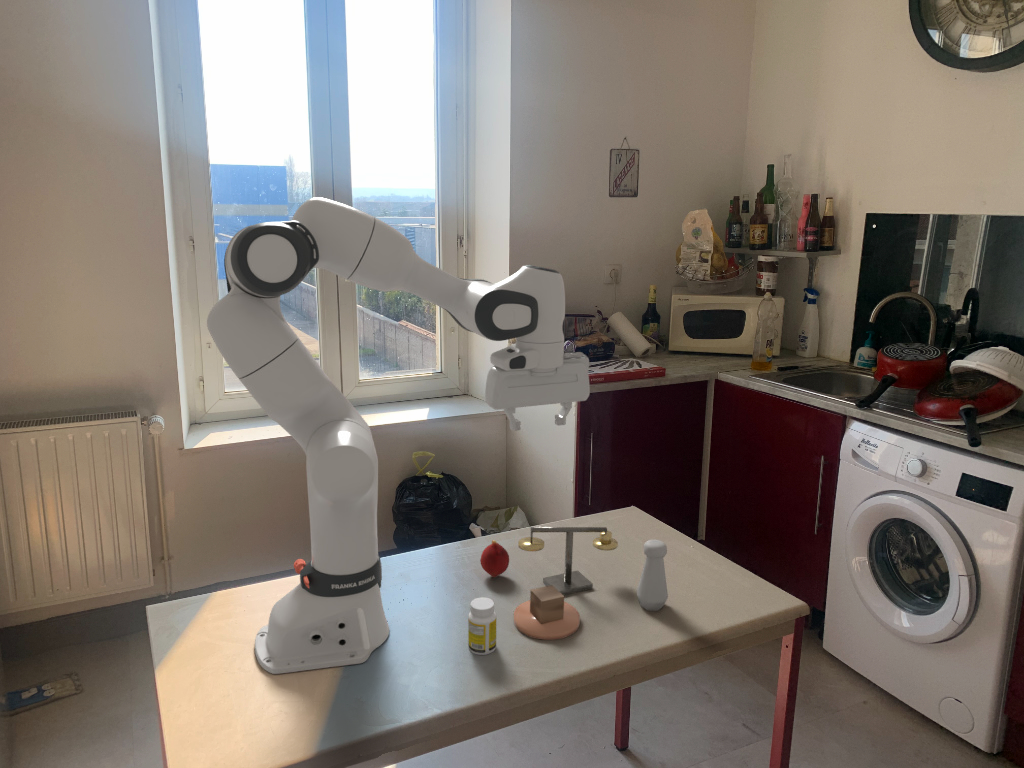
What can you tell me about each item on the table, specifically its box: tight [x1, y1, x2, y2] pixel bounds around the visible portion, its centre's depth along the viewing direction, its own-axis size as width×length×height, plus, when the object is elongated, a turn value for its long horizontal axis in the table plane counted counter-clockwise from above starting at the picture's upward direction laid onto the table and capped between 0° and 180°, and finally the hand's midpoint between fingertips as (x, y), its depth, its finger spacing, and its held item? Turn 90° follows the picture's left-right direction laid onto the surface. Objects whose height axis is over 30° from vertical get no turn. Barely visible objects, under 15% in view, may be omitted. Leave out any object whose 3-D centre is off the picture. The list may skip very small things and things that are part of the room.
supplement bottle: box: [467, 596, 497, 656], centre depth 125 cm, size 5×5×8 cm
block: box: [529, 585, 565, 624], centre depth 133 cm, size 4×4×4 cm
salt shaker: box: [636, 539, 669, 612], centre depth 139 cm, size 6×6×13 cm
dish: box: [513, 599, 581, 641], centre depth 134 cm, size 12×12×1 cm
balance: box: [517, 526, 619, 596], centre depth 145 cm, size 22×6×14 cm, turn 115°
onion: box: [479, 539, 510, 578], centre depth 149 cm, size 6×6×8 cm
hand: (537, 427), depth 138 cm, fingers open, 8 cm apart
